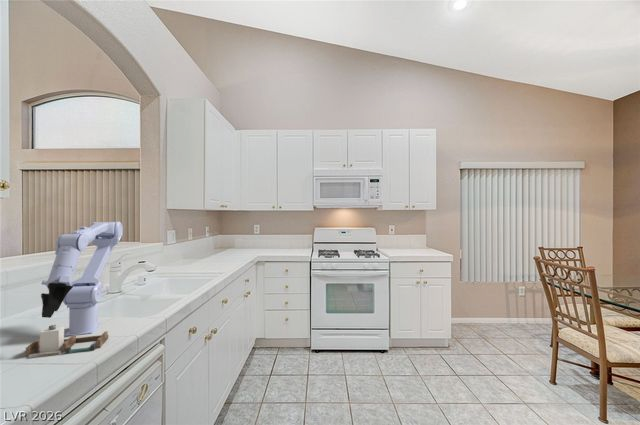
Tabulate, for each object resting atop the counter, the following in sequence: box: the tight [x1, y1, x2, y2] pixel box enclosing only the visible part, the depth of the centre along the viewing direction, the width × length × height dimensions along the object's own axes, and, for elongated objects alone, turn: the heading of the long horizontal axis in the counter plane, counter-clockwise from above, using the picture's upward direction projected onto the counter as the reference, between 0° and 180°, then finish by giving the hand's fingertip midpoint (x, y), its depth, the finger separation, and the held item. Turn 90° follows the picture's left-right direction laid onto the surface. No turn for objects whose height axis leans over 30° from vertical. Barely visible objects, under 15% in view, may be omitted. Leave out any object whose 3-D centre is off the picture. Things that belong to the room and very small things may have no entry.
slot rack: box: [25, 330, 109, 359], centre depth 94 cm, size 9×18×2 cm, turn 109°
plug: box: [39, 324, 65, 353], centre depth 92 cm, size 4×4×7 cm
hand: (49, 314), depth 90 cm, fingers open, 7 cm apart
